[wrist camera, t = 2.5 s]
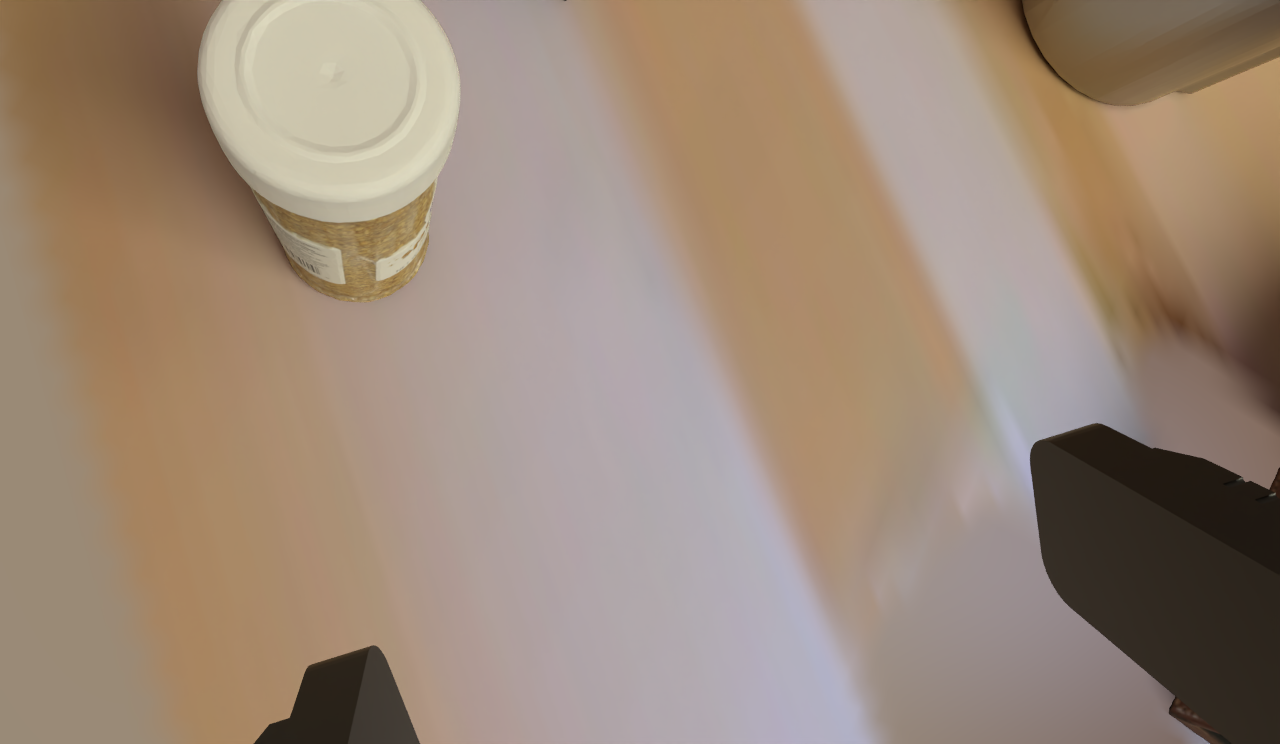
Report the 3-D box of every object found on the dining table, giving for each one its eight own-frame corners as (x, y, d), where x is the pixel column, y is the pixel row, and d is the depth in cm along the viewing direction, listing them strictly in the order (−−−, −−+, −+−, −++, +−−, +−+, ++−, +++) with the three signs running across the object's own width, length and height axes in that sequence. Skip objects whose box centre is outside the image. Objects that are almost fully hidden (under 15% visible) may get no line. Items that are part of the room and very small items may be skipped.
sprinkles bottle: (446, 281, 30) (496, 166, 17) (305, 321, 28) (240, 229, 15) (402, 148, 29) (418, -73, 16) (259, 182, 28) (154, -29, 15)
